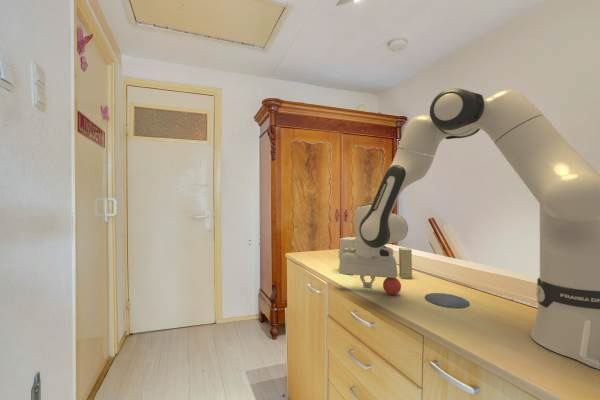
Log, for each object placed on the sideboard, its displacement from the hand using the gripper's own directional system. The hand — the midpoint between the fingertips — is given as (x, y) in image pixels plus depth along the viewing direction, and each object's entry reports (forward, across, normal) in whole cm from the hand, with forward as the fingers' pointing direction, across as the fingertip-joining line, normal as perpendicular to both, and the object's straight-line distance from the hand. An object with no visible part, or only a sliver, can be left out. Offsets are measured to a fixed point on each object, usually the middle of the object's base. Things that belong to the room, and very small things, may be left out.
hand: (367, 287), depth 99 cm
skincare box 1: (+2, -11, +24) cm, 26 cm away
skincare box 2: (+2, +13, +25) cm, 29 cm away
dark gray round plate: (+2, +25, 0) cm, 25 cm away
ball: (-2, +8, 0) cm, 8 cm away
